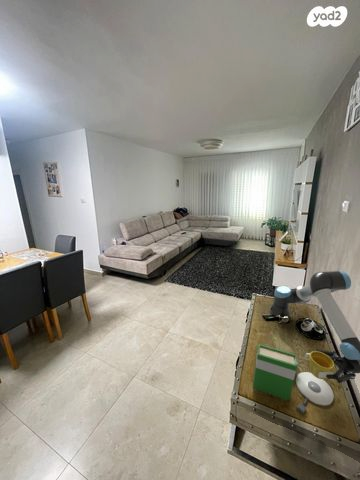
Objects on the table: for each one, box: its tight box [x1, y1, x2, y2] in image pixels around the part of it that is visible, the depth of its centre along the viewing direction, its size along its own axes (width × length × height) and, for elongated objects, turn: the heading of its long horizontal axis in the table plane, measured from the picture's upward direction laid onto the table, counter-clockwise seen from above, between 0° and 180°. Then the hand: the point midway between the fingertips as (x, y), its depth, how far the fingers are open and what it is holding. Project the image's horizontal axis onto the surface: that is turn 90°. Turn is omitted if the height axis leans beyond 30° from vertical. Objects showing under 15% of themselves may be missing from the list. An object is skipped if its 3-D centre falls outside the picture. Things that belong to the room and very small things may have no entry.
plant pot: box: [308, 350, 335, 380], centre depth 103 cm, size 10×10×10 cm
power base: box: [295, 371, 334, 415], centre depth 105 cm, size 26×17×2 cm, turn 128°
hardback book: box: [252, 343, 298, 402], centre depth 105 cm, size 18×7×24 cm, turn 67°
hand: (312, 364), depth 102 cm, fingers closed on plant pot, 10 cm apart
